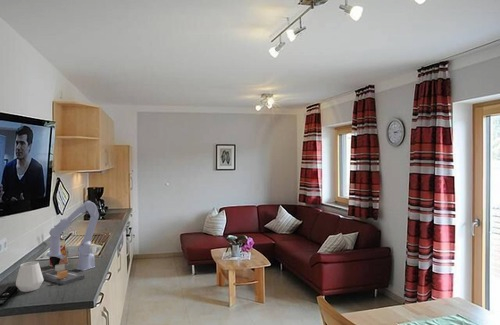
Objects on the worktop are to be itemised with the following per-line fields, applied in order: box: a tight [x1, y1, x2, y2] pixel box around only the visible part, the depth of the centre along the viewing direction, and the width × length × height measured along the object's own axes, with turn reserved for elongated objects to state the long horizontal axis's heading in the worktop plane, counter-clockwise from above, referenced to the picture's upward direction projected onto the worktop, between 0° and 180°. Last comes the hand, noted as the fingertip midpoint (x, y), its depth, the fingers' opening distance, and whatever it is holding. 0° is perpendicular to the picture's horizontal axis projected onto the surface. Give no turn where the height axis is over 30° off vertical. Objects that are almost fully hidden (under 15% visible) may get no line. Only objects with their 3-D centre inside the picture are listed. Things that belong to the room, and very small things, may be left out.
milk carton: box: [48, 235, 70, 268], centre depth 245 cm, size 9×9×20 cm
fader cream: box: [54, 263, 66, 272], centre depth 226 cm, size 4×3×4 cm, turn 150°
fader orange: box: [57, 269, 69, 279], centre depth 213 cm, size 4×3×4 cm, turn 150°
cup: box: [15, 261, 45, 293], centre depth 202 cm, size 13×13×14 cm
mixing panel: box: [42, 269, 85, 286], centre depth 220 cm, size 13×26×2 cm, turn 60°
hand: (55, 268), depth 228 cm, fingers closed
